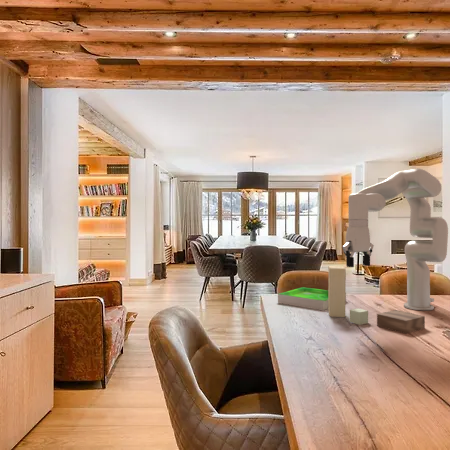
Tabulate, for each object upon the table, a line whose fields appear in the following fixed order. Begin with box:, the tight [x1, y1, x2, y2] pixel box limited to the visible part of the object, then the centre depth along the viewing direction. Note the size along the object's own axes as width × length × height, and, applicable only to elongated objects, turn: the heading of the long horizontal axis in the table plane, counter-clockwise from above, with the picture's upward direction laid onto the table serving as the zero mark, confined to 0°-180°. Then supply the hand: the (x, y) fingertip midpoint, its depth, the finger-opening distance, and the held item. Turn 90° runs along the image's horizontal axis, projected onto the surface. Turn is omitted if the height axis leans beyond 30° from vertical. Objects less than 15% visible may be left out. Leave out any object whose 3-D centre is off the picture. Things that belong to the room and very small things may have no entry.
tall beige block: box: [327, 265, 347, 318], centre depth 161 cm, size 8×7×21 cm
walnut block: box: [376, 309, 426, 334], centre depth 142 cm, size 12×12×5 cm
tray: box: [277, 286, 347, 311], centre depth 188 cm, size 25×25×5 cm
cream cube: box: [349, 308, 369, 325], centre depth 149 cm, size 5×5×5 cm
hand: (358, 266), depth 149 cm, fingers open, 9 cm apart
